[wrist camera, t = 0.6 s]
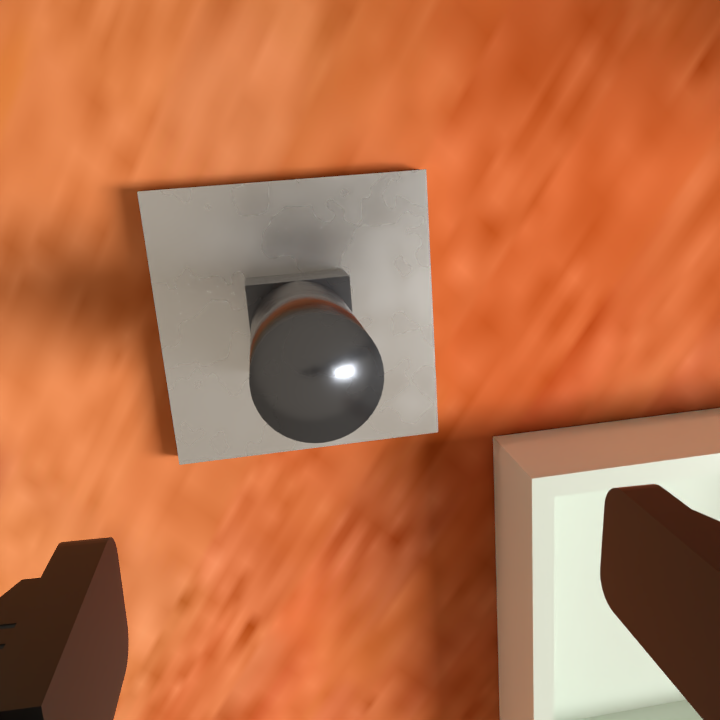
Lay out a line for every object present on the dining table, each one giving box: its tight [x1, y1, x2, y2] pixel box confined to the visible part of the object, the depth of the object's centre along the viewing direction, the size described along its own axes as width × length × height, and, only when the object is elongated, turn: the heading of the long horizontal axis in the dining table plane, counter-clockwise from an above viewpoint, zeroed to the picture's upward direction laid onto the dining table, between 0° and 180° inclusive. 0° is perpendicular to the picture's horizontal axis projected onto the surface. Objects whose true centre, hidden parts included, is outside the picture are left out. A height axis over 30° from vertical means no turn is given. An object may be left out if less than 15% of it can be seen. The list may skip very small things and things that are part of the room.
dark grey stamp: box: [245, 269, 384, 443], centre depth 26 cm, size 4×4×9 cm
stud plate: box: [137, 169, 438, 465], centre depth 30 cm, size 12×12×3 cm
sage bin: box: [493, 408, 720, 720], centre depth 35 cm, size 18×18×5 cm
